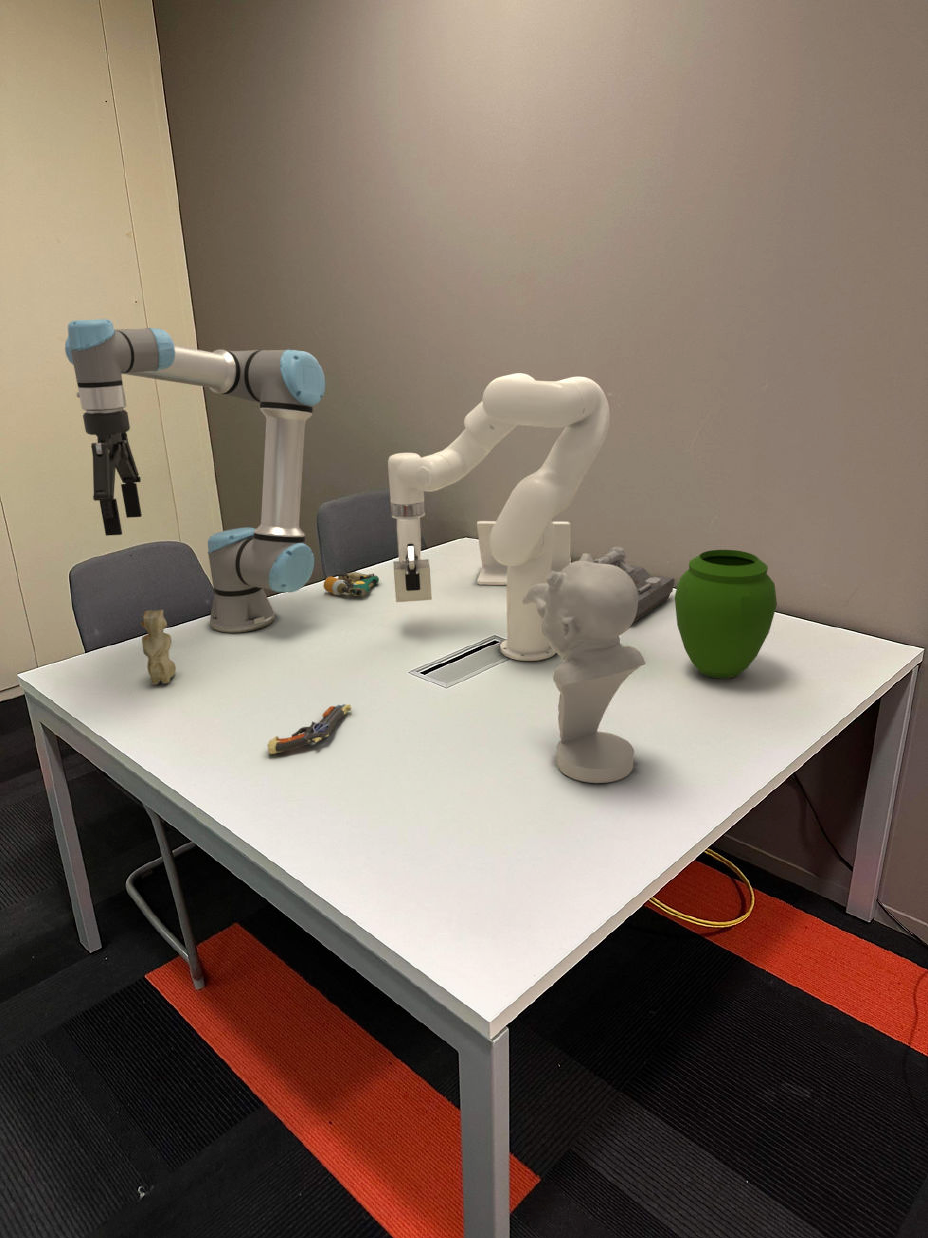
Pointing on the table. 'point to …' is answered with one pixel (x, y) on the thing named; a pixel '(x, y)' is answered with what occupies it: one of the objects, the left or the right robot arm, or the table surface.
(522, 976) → the table surface
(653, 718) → the table surface
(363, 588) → the spray gun
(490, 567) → the tablet stand
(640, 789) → the table surface
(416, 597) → the block
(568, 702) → the bust sculpture
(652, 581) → the toy
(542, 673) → the table surface
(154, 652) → the sculpture
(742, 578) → the vase
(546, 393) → the right robot arm
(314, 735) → the toy gun
